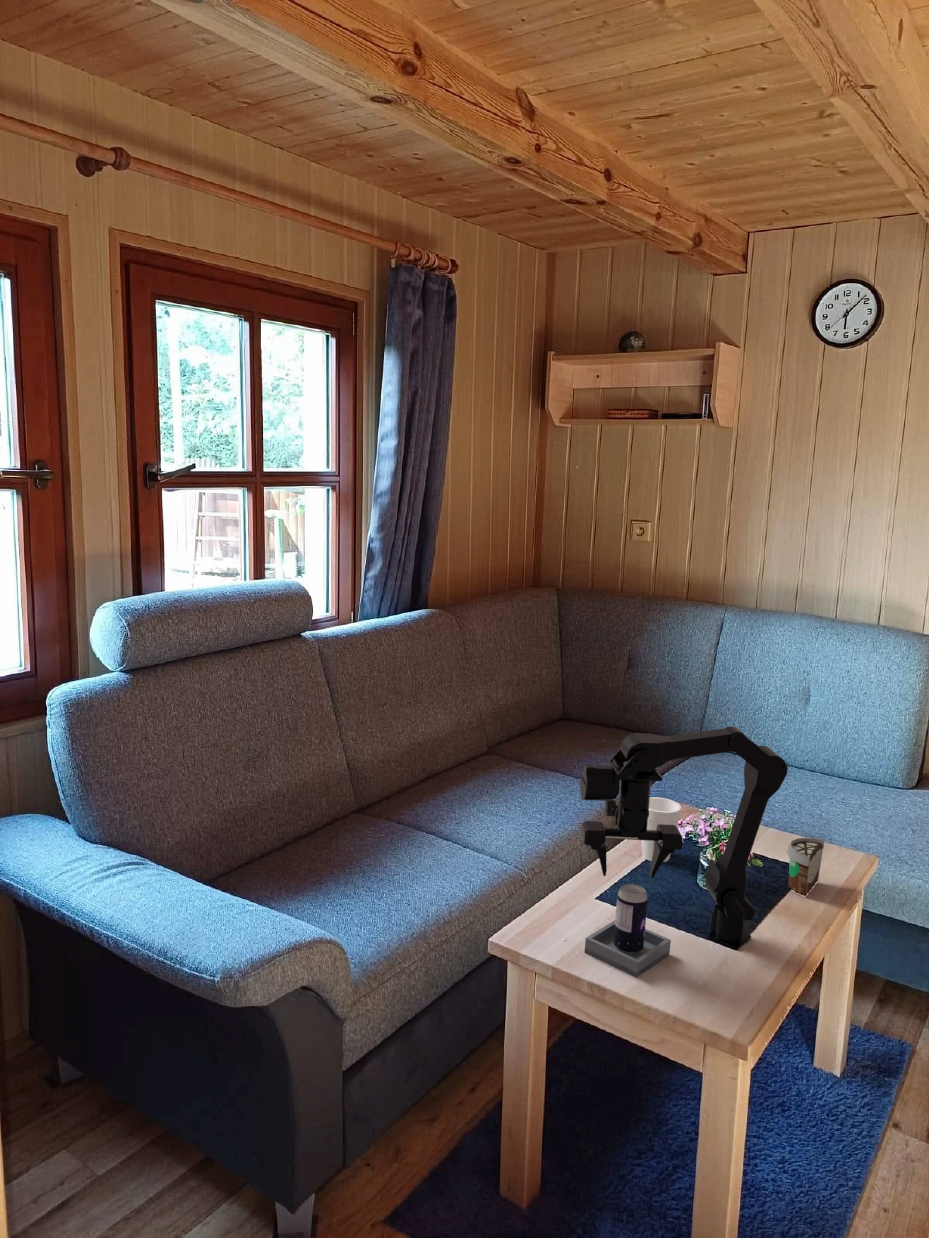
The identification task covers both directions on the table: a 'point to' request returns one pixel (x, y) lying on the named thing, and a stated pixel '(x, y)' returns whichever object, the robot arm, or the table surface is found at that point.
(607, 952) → the tray
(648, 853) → the foam cup
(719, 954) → the table surface
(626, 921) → the beverage can
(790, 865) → the food container
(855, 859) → the table surface
